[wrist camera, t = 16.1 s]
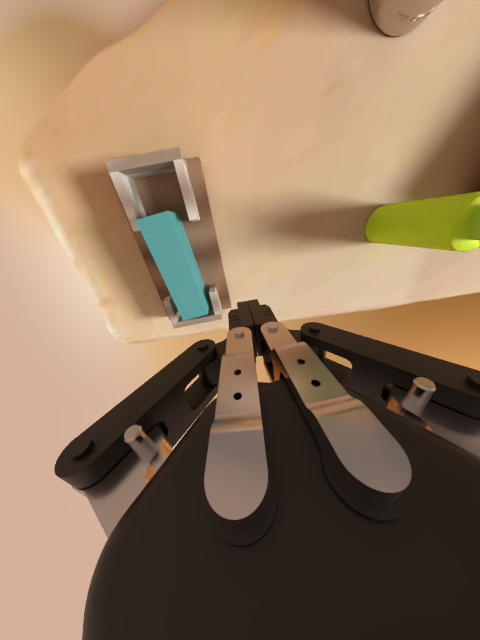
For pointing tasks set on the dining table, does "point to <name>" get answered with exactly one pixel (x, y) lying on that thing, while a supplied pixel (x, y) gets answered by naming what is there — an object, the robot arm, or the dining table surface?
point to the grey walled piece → (179, 197)
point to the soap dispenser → (429, 223)
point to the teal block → (176, 262)
